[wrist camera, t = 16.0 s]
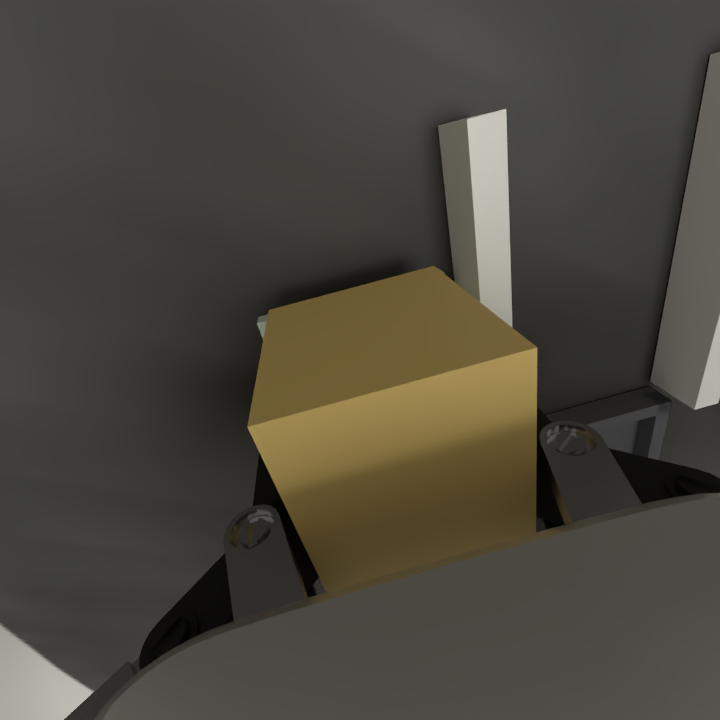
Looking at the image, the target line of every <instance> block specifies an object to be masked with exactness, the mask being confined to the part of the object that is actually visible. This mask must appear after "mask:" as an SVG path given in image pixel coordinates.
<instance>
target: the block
mask: <svg viewBox="0 0 720 720" xmlns="http://www.w3.org/2000/svg"><path fill="white" fill-rule="evenodd" d="M247 427H248V430H249V432H250V434H251V436H252V438H253V440H254V442H255V444H256V446H257V448H258V450H259V453H260V455H261V457H262V459H263V461H264V463H265V465H266V467H267V469H268V471H269V473H270V475H271V478H272V480H273V482H274V484H275V486H276V488H277V490H278V492H279V494H280V496H281V498H282V501H283V503H284V505H285V507H286V509H287V511H288V513H289V515H290V517H291V519H292V521H293V524H294V526H295V528H296V530H297V532H298V534H299V536H300V538H301V540H302V542H303V544H304V547H305V549H306V551H307V553H308V555H309V557H310V559H311V561H312V563H313V565H314V567H315V570H316V572H317V574H318V576H319V578H320V580H321V582H322V584H323V586H324V588H325V590H326V592H330V591H333V590H336V589H340V588H343V587H347V586H350V585H354V584H357V583H361V582H364V581H367V580H371V579H374V578H378V577H381V576H385V575H388V574H391V573H395V572H399V571H402V570H406V569H409V568H413V567H416V566H420V565H423V564H427V563H430V562H434V561H437V560H441V559H444V558H448V557H451V556H455V555H458V554H462V553H465V552H469V551H472V550H476V549H479V548H483V547H486V546H490V545H493V544H497V543H501V542H504V541H508V540H511V539H515V538H518V537H522V536H526V535H529V534H533V533H536V463H537V347H536V346H535V345H533V344H532V343H531V342H530V341H528V340H527V339H526V338H525V337H523V336H522V335H521V334H520V333H518V332H517V331H516V330H515V329H513V328H512V327H511V326H509V325H508V324H507V323H506V322H504V321H503V320H502V319H501V318H499V317H498V316H497V315H496V314H494V313H493V312H492V311H491V310H489V309H488V308H487V307H485V306H484V305H483V304H482V303H480V302H479V301H478V300H477V299H475V298H474V297H473V296H472V295H470V294H469V293H468V292H467V291H465V290H464V289H463V288H461V287H460V286H459V285H458V284H456V283H455V282H454V281H453V280H451V279H450V278H449V277H448V276H446V275H445V274H444V273H443V272H441V271H440V270H439V269H437V268H436V267H435V266H431V267H427V268H424V269H420V270H416V271H413V272H409V273H405V274H401V275H398V276H394V277H390V278H386V279H383V280H379V281H375V282H372V283H368V284H364V285H360V286H357V287H353V288H349V289H346V290H342V291H338V292H334V293H331V294H327V295H323V296H319V297H316V298H312V299H308V300H305V301H301V302H297V303H293V304H290V305H286V306H282V307H278V308H275V309H271V310H269V311H268V317H267V322H266V328H265V333H264V339H263V344H262V350H261V355H260V361H259V366H258V371H257V377H256V382H255V388H254V393H253V399H252V404H251V410H250V415H249V421H248V426H247Z"/></svg>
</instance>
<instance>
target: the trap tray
mask: <svg viewBox="0 0 720 720" xmlns="http://www.w3.org/2000/svg"><path fill="white" fill-rule="evenodd" d="M671 403H672V401H671V400H670V399H668V398H667V397H665V396H664V395H662V394H661V393H659V392H658V391H656V390H655V389H653V388H651V387H650V386H648V387H644V388H641V389H637V390H634V391H630V392H627V393H623V394H619V395H616V396H612V397H609V398H605V399H601V400H598V401H594V402H591V403H587V404H583V405H580V406H576V407H573V408H569V409H566V410H562V411H558V412H555V413H551V414H548V415H545V416H546V417H547V418H548V419H549V420H550V421H551V422H552V423H553V422H558V421H573V422H579V423H582V424H585V425H587V426H590V427H591V428H593V429H594V430H596V431H597V432H598V433H599V434H600V436H601V437H602V438H603V440H604V442H605V443H606V445H607V447H608V448H610V449H614V450H618V451H623V452H627V453H631V454H635V455H639V456H643V457H647V458H652V459H656V460H659V456H660V452H661V448H662V443H663V439H664V434H665V430H666V425H667V421H668V416H669V412H670V407H671ZM540 531H542V529H541V526H540V523H539V518H537V517H536V532H540Z"/></svg>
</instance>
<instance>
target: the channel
mask: <svg viewBox="0 0 720 720" xmlns="http://www.w3.org/2000/svg"><path fill="white" fill-rule="evenodd" d="M438 131H439V140H440V150H441V159H442V169H443V178H444V188H445V197H446V207H447V216H448V226H449V235H450V245H451V254H452V263H453V273H454V282H455V283H456V284H458V285H459V286H460V287H461V288H463V289H464V290H465V291H467V292H468V293H469V294H470V295H472V296H473V297H474V298H475V299H477V300H478V301H479V302H480V303H482V304H483V305H484V306H485V307H487V308H488V309H489V310H491V311H492V312H493V313H494V314H496V315H497V316H498V317H499V318H501V319H502V320H503V321H504V322H506V323H507V324H508V325H509V326H511V327H512V296H511V262H510V227H509V193H508V158H507V124H506V109H503V110H499V111H495V112H490V113H486V114H481V115H477V116H473V117H469V118H465V119H461V120H457V121H453V122H449V123H446V124H442V125H438ZM650 382H652V383H653V384H655V385H656V386H658V387H659V388H661V389H663V390H664V391H666V392H667V393H669V394H670V395H672V396H674V397H675V398H677V399H678V400H680V401H681V402H683V403H685V404H686V405H688V406H689V407H691V408H692V409H694V410H696V409H699V408H703V407H706V406H710V405H713V404H717V403H718V401H719V398H720V52H717V53H714V54H710V59H709V64H708V70H707V75H706V81H705V86H704V92H703V97H702V103H701V108H700V113H699V119H698V124H697V130H696V135H695V141H694V146H693V151H692V157H691V162H690V168H689V173H688V179H687V184H686V190H685V195H684V200H683V206H682V211H681V217H680V222H679V228H678V233H677V239H676V244H675V249H674V255H673V260H672V266H671V271H670V277H669V282H668V288H667V293H666V298H665V304H664V309H663V315H662V320H661V326H660V331H659V337H658V342H657V347H656V353H655V358H654V364H653V369H652V375H651V380H650Z"/></svg>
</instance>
